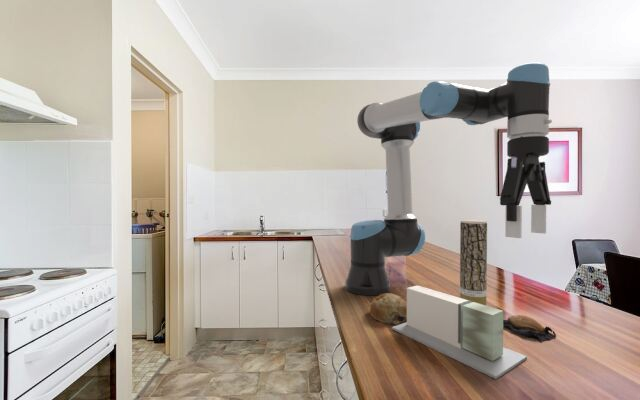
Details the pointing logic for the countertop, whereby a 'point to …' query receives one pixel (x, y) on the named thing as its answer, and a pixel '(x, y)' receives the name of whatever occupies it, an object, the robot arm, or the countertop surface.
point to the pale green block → (483, 330)
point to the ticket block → (448, 330)
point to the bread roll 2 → (528, 328)
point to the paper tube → (473, 260)
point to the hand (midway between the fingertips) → (526, 235)
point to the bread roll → (389, 309)
